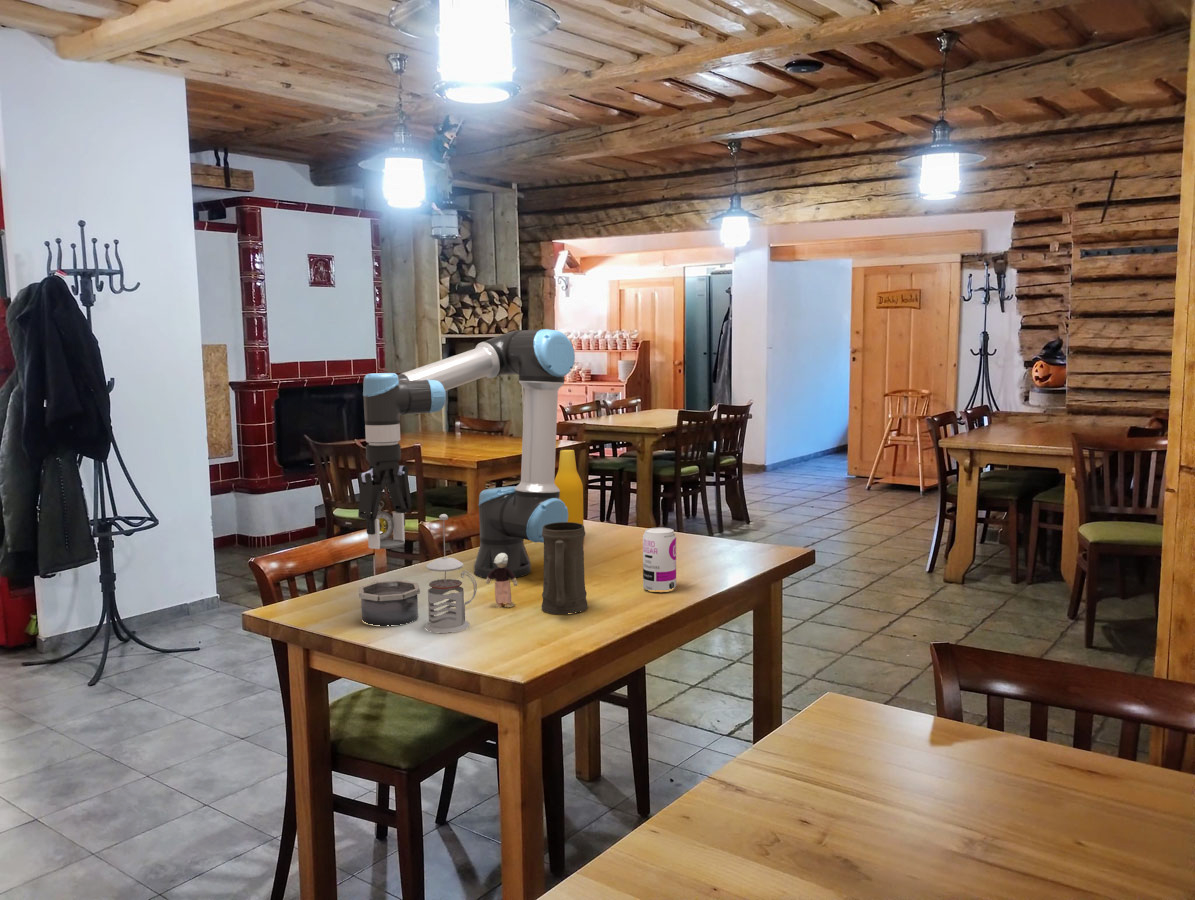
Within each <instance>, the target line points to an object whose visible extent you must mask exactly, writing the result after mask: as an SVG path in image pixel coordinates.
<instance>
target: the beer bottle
mask: <svg viewBox="0 0 1195 900" xmlns="http://www.w3.org/2000/svg"><path fill="white" fill-rule="evenodd" d="M575 454H576V453H575V450H574V449H561V450H560V451H559V458H558V459H559V460H558V462H559V463H558V470H557V473H556V474H555V475H556V476H555V477H554V483H555V485H556V486H557V487H558V488H559V489H560V498H559V499H560V500H561V501H563V502H564V503H565V506H566V507H567V509H568V521H567V522H574V523H579V524H582V525H583V526H584V484H583V482H582V478H581V476H580V475H579V473H578V472H579V471H578V470H577V463H576V455H575ZM584 527H585V526H584ZM584 544H585V539H584V540H583V545H584Z"/></svg>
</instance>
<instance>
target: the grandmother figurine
mask: <svg viewBox="0 0 1195 900" xmlns="http://www.w3.org/2000/svg"><path fill="white" fill-rule="evenodd" d="M507 562H508V556H507V555H506V554H505V553H500V554H498V555H497V556H496V558H495V559H494V562H493V563H495V564H497V566H498V567H499V568H497V569H494V570H492V571H491V572H490V573H489V574H488V575H487V576H488V577H487V578H486V579H485V584H486V585H489V584H490V583H491V581H492V580H493V579H494V578H496V579H495V582H494V599H495V603H496V604H495V608H498V607H500V608H503V607H504V608H506V607H510V608H512V606H513V607H515V603H514V602H512V601H513V600H512V589H511V582H512V583H513V586H514V587H516V586H518V585H519V583H518V581H517V577H515V575H514V574H513V573H512V571H511V570H509V569H506V568H505V567H506V566H507ZM508 577H509V578H508ZM510 580H511V581H510ZM502 606H503V607H502Z"/></svg>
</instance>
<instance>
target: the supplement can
mask: <svg viewBox="0 0 1195 900" xmlns="http://www.w3.org/2000/svg"><path fill="white" fill-rule="evenodd" d="M642 587H643V589H644V590H646V589H647V590H655V591H656V590H669V589H672V588H675V587H676V588H677V535H676V534H675V532H674V529H672V528H669V527H651V528H646V529H645V530H644V533H643V535H642ZM676 588H675V589H676Z"/></svg>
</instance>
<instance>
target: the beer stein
mask: <svg viewBox="0 0 1195 900" xmlns="http://www.w3.org/2000/svg"><path fill="white" fill-rule="evenodd" d="M583 525H584V524H583ZM583 525H582V524H579V523H574V522H558V523H551V524H547V525H544V526H543V531H542V536H543V538H544V543H543V587H542V588H543V590H542V594H541V597H542V603H541V611H543V612H544V613H547V612H548V613H547V614H551V613H552V614H551V615H559V614H568V613H575V612H580V611H583V612H585V611H586V610H585V609H587V610H588V608H589V606H588V605H589V604H588V601H587V594H588V593H587V590H586V582H585V563H584V562H585V557H584V556H585V555H584V554H585V553H584V552H585V551H584V544H583V540H584V541H585V536H586V531H585V526H583ZM584 610H585V611H584ZM568 615H569V614H568Z"/></svg>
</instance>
